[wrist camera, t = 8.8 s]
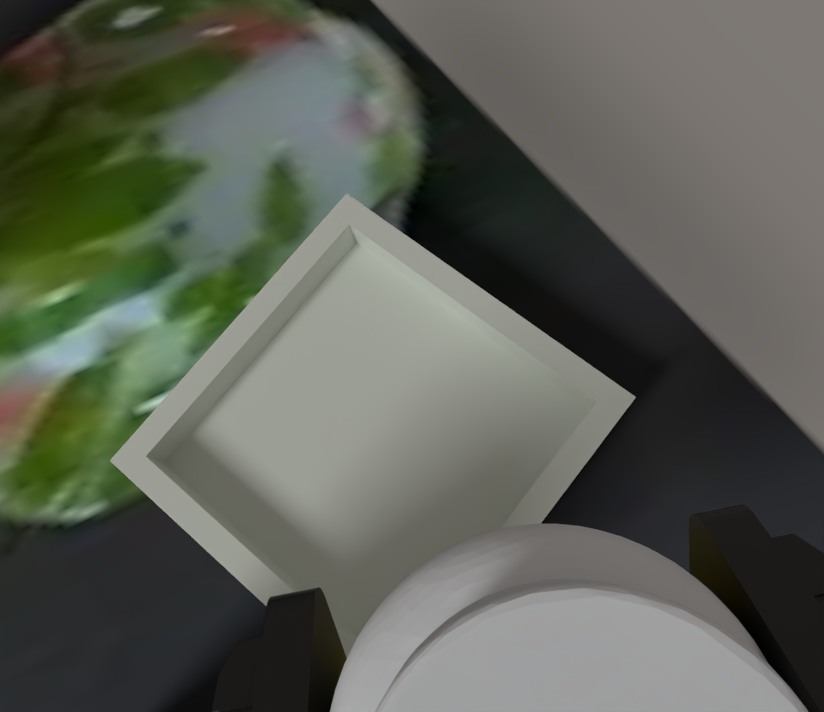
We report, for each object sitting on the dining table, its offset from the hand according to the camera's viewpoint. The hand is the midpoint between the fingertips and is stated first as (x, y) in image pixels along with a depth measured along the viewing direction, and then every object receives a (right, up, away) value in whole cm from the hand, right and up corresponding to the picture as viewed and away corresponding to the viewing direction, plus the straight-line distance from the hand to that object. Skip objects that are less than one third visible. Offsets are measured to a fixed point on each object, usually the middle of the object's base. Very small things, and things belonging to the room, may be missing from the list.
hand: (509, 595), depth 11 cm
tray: (-3, 0, +19) cm, 19 cm away
